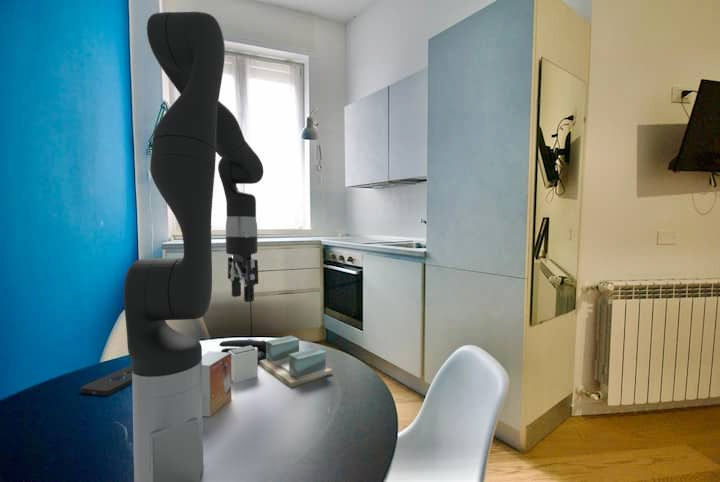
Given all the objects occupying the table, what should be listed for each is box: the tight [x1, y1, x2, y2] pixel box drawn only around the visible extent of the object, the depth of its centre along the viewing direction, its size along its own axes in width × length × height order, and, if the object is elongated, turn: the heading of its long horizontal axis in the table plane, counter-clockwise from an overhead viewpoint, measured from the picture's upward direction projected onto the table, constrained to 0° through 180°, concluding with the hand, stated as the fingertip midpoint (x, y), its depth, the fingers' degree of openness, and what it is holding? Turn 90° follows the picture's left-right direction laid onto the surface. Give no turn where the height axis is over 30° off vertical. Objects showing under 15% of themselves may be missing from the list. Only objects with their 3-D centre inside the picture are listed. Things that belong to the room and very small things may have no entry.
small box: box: [202, 350, 232, 418], centre depth 73 cm, size 8×6×10 cm
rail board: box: [258, 335, 333, 388], centre depth 93 cm, size 18×12×6 cm, turn 40°
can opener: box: [218, 338, 267, 363], centre depth 103 cm, size 18×7×6 cm, turn 66°
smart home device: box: [80, 364, 132, 397], centre depth 89 cm, size 8×2×20 cm
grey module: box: [228, 345, 259, 384], centre depth 88 cm, size 4×6×7 cm, turn 130°
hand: (242, 298), depth 88 cm, fingers open, 8 cm apart
